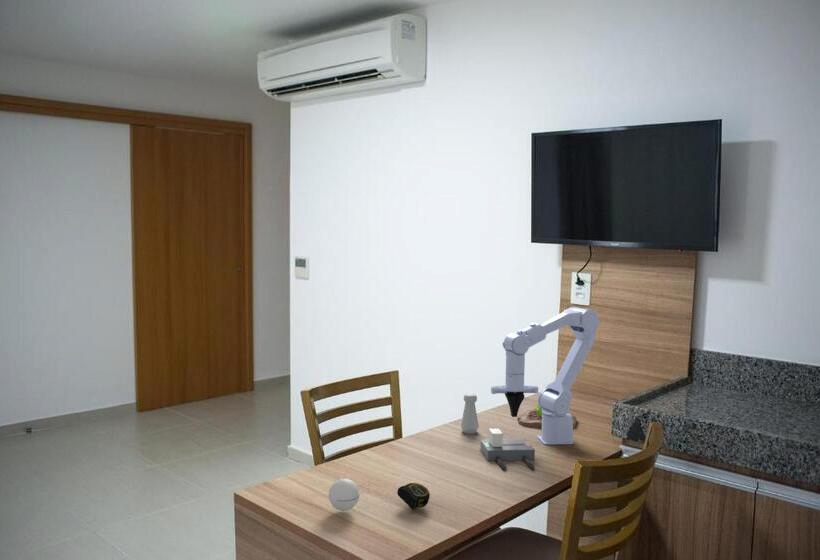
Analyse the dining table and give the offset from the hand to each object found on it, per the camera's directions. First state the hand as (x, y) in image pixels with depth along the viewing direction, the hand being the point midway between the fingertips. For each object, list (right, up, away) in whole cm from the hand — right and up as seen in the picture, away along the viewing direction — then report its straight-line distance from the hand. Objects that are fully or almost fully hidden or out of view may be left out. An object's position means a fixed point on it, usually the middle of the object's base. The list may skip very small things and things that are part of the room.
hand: (513, 416), depth 210 cm
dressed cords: (-2, -11, -17) cm, 20 cm away
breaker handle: (-7, -7, -8) cm, 13 cm away
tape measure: (-34, -12, -46) cm, 59 cm away
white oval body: (-47, -13, -49) cm, 69 cm away
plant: (+16, -8, +27) cm, 32 cm away
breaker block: (-3, -10, -8) cm, 13 cm away
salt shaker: (-13, -9, +13) cm, 20 cm away
